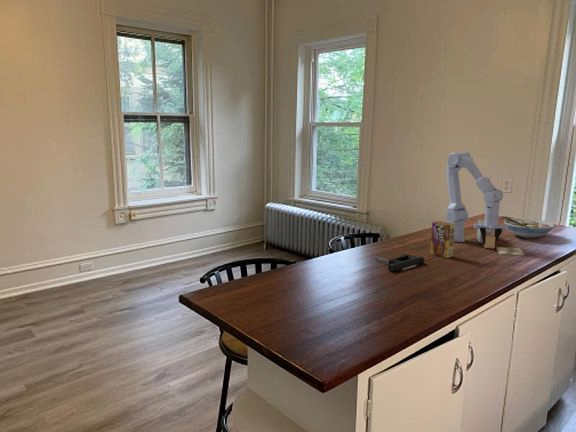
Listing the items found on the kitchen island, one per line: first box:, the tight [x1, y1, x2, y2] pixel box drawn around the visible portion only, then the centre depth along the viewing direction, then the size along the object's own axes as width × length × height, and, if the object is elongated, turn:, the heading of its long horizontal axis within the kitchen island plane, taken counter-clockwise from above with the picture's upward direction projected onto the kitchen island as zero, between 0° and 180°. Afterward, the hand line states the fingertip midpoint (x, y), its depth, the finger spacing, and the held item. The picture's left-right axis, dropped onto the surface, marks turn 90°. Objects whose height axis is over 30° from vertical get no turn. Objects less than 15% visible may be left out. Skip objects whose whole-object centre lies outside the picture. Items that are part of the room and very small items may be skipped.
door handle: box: [375, 253, 425, 272], centre depth 182 cm, size 3×20×16 cm
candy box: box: [430, 219, 455, 259], centre depth 192 cm, size 9×4×15 cm, turn 39°
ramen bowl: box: [501, 216, 555, 239], centre depth 223 cm, size 25×23×8 cm
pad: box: [495, 246, 526, 256], centre depth 197 cm, size 10×10×1 cm
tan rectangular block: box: [483, 234, 496, 249], centre depth 203 cm, size 4×4×6 cm
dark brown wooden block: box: [476, 219, 495, 244], centre depth 217 cm, size 6×12×9 cm, turn 163°
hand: (489, 244), depth 204 cm, fingers closed on tan rectangular block, 4 cm apart
